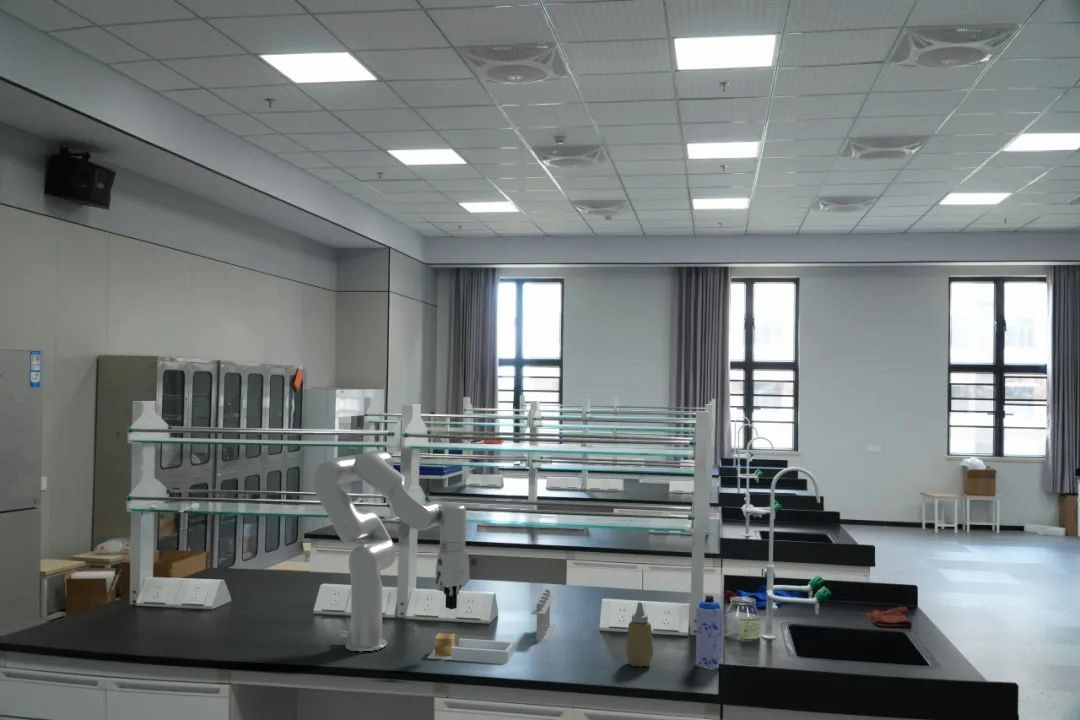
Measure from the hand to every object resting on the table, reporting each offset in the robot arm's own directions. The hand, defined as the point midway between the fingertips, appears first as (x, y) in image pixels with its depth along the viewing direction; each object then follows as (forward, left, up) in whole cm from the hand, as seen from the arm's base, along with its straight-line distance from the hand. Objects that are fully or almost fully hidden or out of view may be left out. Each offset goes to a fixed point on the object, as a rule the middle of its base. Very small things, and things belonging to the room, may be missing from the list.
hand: (451, 607), depth 261 cm
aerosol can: (+76, +10, -15) cm, 78 cm away
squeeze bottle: (+56, +6, -15) cm, 58 cm away
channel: (+7, 0, -15) cm, 16 cm away
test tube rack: (+23, +27, -15) cm, 38 cm away
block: (-2, -1, -13) cm, 13 cm away
